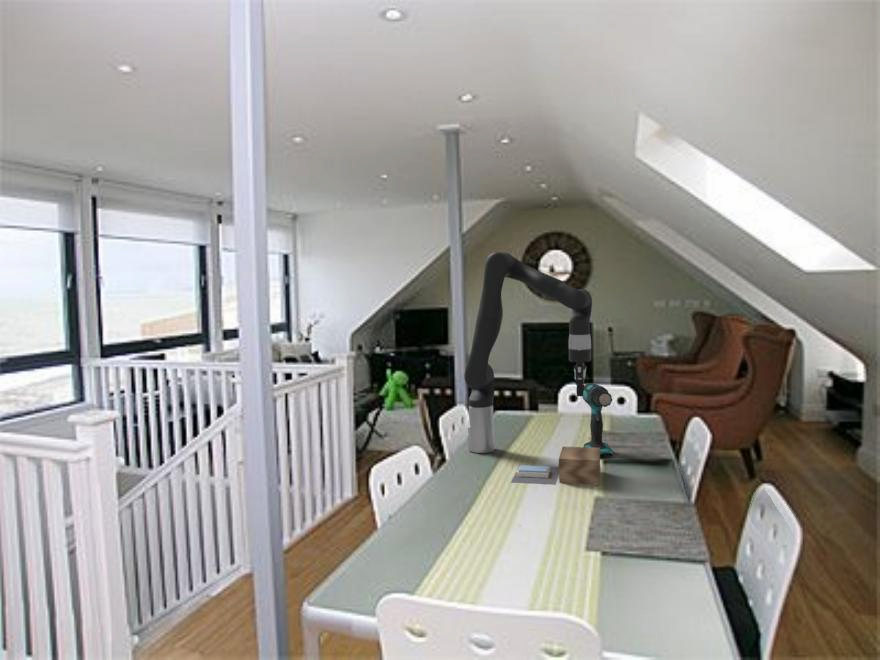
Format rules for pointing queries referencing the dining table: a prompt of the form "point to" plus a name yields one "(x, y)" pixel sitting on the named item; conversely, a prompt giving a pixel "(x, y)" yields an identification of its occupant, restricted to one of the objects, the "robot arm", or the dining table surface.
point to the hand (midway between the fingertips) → (580, 393)
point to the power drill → (597, 414)
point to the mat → (537, 480)
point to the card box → (533, 471)
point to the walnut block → (579, 465)
